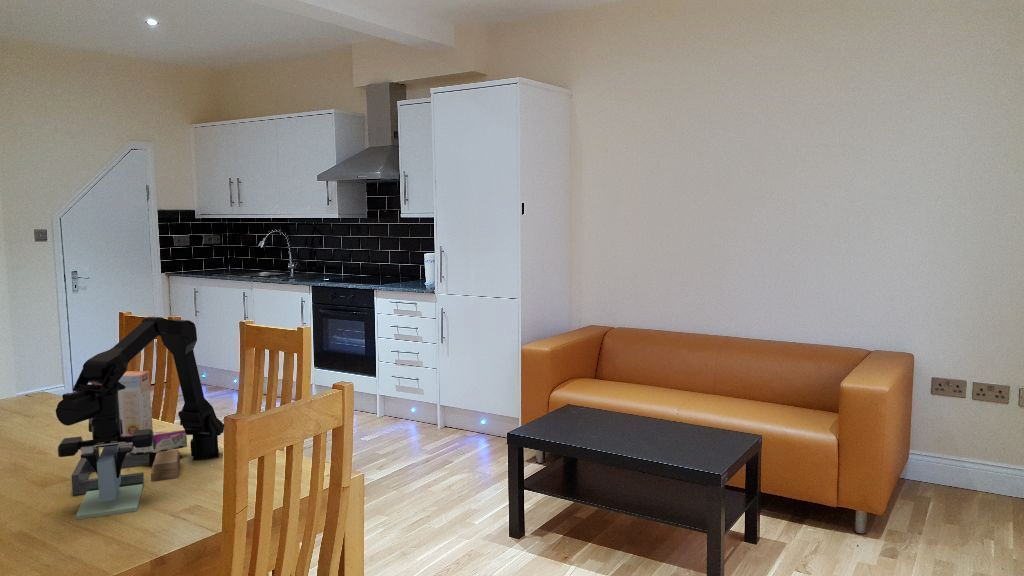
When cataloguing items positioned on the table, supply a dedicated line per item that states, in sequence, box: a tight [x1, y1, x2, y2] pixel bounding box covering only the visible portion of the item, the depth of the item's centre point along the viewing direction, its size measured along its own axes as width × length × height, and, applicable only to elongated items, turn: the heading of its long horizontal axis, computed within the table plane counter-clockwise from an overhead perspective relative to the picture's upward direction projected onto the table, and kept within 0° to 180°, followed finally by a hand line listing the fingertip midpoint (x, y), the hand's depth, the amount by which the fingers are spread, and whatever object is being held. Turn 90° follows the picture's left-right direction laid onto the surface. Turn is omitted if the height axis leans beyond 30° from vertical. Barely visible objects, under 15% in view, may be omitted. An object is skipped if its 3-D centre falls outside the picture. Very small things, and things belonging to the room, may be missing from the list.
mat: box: [75, 484, 144, 520], centre depth 167 cm, size 12×15×1 cm
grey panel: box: [96, 445, 122, 502], centre depth 166 cm, size 3×12×9 cm, turn 22°
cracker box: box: [90, 370, 154, 444], centre depth 208 cm, size 14×6×21 cm, turn 92°
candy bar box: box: [113, 429, 188, 455], centre depth 196 cm, size 11×5×16 cm
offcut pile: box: [150, 449, 181, 482], centre depth 186 cm, size 6×12×4 cm, turn 22°
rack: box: [70, 453, 151, 497], centre depth 182 cm, size 15×18×5 cm
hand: (109, 478), depth 167 cm, fingers closed on grey panel, 3 cm apart
